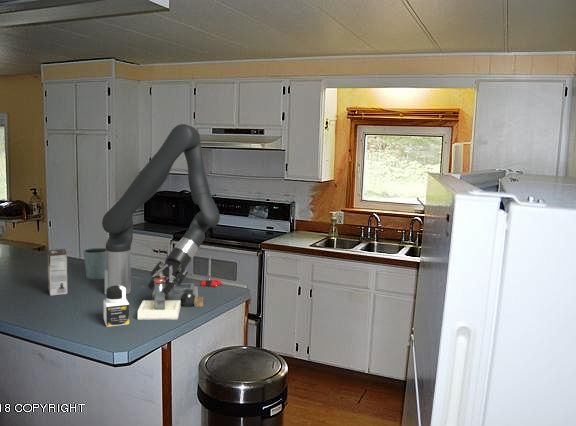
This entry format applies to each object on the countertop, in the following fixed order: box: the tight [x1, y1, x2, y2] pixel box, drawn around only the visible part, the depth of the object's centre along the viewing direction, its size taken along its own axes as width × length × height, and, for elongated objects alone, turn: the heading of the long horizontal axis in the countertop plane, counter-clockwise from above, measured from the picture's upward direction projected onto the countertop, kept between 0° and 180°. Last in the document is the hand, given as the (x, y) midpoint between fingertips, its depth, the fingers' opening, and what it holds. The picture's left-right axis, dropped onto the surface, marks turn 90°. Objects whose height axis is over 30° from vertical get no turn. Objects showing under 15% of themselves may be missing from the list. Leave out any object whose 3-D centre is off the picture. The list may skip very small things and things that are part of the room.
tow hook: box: [200, 255, 222, 288], centre depth 210 cm, size 8×13×9 cm
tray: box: [137, 299, 181, 321], centre depth 171 cm, size 13×11×3 cm
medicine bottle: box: [103, 285, 130, 328], centre depth 161 cm, size 7×7×12 cm
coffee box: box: [46, 248, 68, 296], centre depth 190 cm, size 9×6×16 cm
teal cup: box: [82, 247, 106, 280], centre depth 213 cm, size 10×10×12 cm
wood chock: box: [194, 296, 204, 308], centre depth 181 cm, size 3×2×3 cm
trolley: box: [151, 282, 199, 308], centre depth 185 cm, size 16×12×6 cm
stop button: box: [153, 276, 166, 310], centre depth 170 cm, size 4×4×12 cm
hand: (156, 290), depth 169 cm, fingers open, 8 cm apart
